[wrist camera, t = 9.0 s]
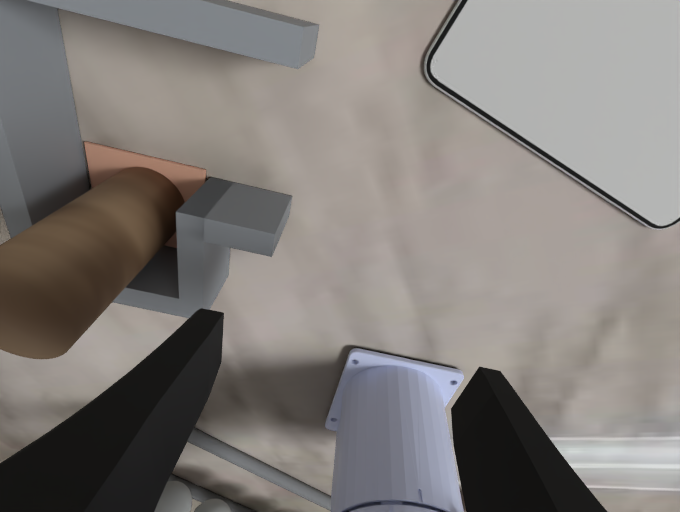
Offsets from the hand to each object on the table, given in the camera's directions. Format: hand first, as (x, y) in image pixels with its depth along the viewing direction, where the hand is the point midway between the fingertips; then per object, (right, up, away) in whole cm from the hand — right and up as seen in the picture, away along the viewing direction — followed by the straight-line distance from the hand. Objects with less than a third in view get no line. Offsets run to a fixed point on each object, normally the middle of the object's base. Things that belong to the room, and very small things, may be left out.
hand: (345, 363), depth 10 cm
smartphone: (+11, +10, +5) cm, 16 cm away
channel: (-8, +8, +8) cm, 14 cm away
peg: (-10, +6, +9) cm, 15 cm away
